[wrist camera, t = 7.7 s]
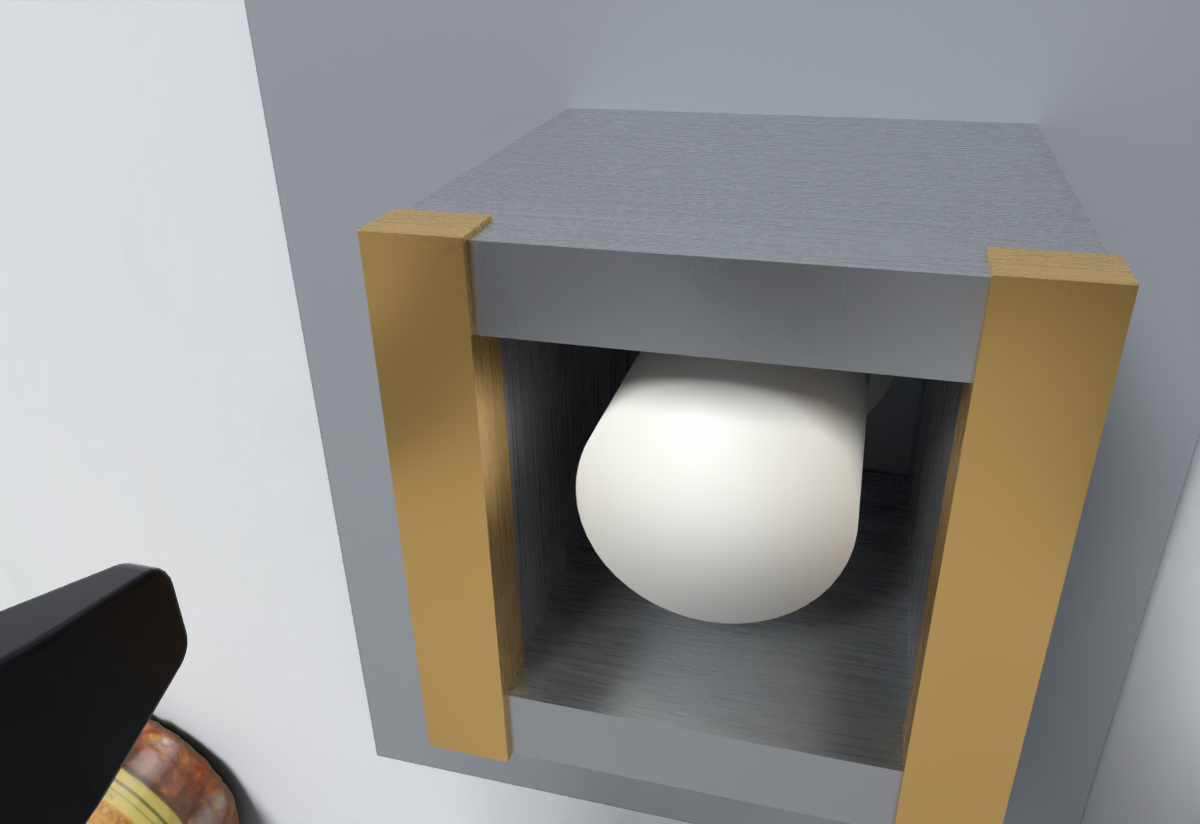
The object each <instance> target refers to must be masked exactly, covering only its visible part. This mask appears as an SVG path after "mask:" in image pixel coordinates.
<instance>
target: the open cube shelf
mask: <svg viewBox="0 0 1200 824" xmlns="http://www.w3.org/2000/svg"><path fill="white" fill-rule="evenodd" d="M358 238H359V246H360V253H361V260H362V267H363V274H364V282H365V289H366V296H367V303H368V310H369V318H370V325H371V332H372V339H373V346H374V353H375V361H376V368H377V375H378V382H379V389H380V397H381V404H382V411H383V418H384V425H385V433H386V440H387V447H388V454H389V461H390V468H391V476H392V483H393V490H394V497H395V504H396V512H397V519H398V526H399V533H400V540H401V548H402V555H403V562H404V569H405V576H406V583H407V591H408V598H409V605H410V612H411V619H412V627H413V634H414V641H415V648H416V655H417V663H418V670H419V677H420V684H421V691H422V699H423V706H424V713H425V720H426V727H427V734H428V742H429V746H433V747H438V748H443V749H447V750H452V751H457V752H462V753H466V754H471V755H476V756H480V757H485V758H490V759H495V760H499V761H504V762H508V761H509V759H510V757H511V755H512V753H514V754H519V755H524V756H529V757H533V758H538V759H543V760H548V761H553V762H557V763H562V764H567V765H572V766H577V767H581V768H586V769H591V770H596V771H601V772H605V773H610V774H615V775H620V776H625V777H629V778H634V779H639V780H644V781H649V782H653V783H658V784H663V785H668V786H673V787H677V788H682V789H687V790H692V791H697V792H701V793H706V794H711V795H716V796H721V797H725V798H730V799H735V800H740V801H744V802H749V803H754V804H759V805H764V806H768V807H773V808H778V809H783V810H788V811H792V812H797V813H802V814H807V815H812V816H816V817H821V818H826V819H831V820H836V821H840V822H845V823H850V824H1003V820H1004V816H1005V813H1006V809H1007V805H1008V801H1009V797H1010V793H1011V789H1012V785H1013V781H1014V777H1015V773H1016V769H1017V765H1018V761H1019V757H1020V753H1021V749H1022V746H1023V742H1024V738H1025V734H1026V730H1027V726H1028V722H1029V718H1030V714H1031V710H1032V706H1033V702H1034V698H1035V694H1036V690H1037V686H1038V683H1039V679H1040V675H1041V671H1042V667H1043V663H1044V659H1045V655H1046V651H1047V647H1048V643H1049V639H1050V635H1051V631H1052V627H1053V623H1054V620H1055V616H1056V612H1057V608H1058V604H1059V600H1060V596H1061V592H1062V588H1063V584H1064V580H1065V576H1066V572H1067V568H1068V564H1069V560H1070V557H1071V553H1072V549H1073V545H1074V541H1075V537H1076V533H1077V529H1078V525H1079V521H1080V517H1081V513H1082V509H1083V505H1084V501H1085V497H1086V493H1087V490H1088V486H1089V482H1090V478H1091V474H1092V470H1093V466H1094V462H1095V458H1096V454H1097V450H1098V446H1099V442H1100V438H1101V434H1102V430H1103V427H1104V423H1105V419H1106V415H1107V411H1108V407H1109V403H1110V399H1111V395H1112V391H1113V387H1114V383H1115V379H1116V375H1117V371H1118V367H1119V364H1120V360H1121V356H1122V352H1123V348H1124V344H1125V340H1126V336H1127V332H1128V328H1129V324H1130V320H1131V316H1132V312H1133V308H1134V304H1135V300H1136V297H1137V293H1138V289H1139V284H1138V283H1137V281H1136V279H1135V277H1134V276H1133V274H1132V272H1131V271H1130V269H1129V267H1128V266H1127V264H1126V262H1125V261H1124V259H1123V257H1122V256H1121V255H1111V254H1109V253H1108V251H1107V249H1106V248H1105V246H1104V244H1103V242H1102V240H1101V239H1100V237H1099V235H1098V233H1097V232H1096V230H1095V228H1094V226H1093V224H1092V223H1091V221H1090V219H1089V217H1088V215H1087V214H1086V212H1085V210H1084V208H1083V207H1082V205H1081V203H1080V201H1079V199H1078V198H1077V196H1076V194H1075V192H1074V190H1073V189H1072V187H1071V185H1070V183H1069V182H1068V180H1067V178H1066V176H1065V174H1064V173H1063V171H1062V169H1061V167H1060V165H1059V164H1058V162H1057V160H1056V158H1055V157H1054V155H1053V153H1052V151H1051V149H1050V148H1049V146H1048V144H1047V142H1046V140H1045V139H1044V137H1043V135H1042V133H1041V132H1040V130H1039V128H1038V126H1037V124H1032V123H1002V122H972V121H943V120H913V119H883V118H854V117H824V116H794V115H765V114H735V113H706V112H676V111H646V110H617V109H587V108H567V109H565V110H564V111H562V112H560V113H559V114H557V115H556V116H554V117H552V118H551V119H549V120H548V121H546V122H544V123H543V124H541V125H540V126H538V127H536V128H535V129H533V130H532V131H530V132H529V133H527V134H525V135H524V136H522V137H521V138H519V139H517V140H516V141H514V142H513V143H511V144H509V145H508V146H506V147H505V148H503V149H501V150H500V151H498V152H497V153H495V154H494V155H492V156H490V157H489V158H487V159H486V160H484V161H482V162H481V163H479V164H478V165H476V166H474V167H473V168H471V169H470V170H468V171H466V172H465V173H463V174H462V175H460V176H459V177H457V178H455V179H454V180H452V181H451V182H449V183H447V184H446V185H444V186H443V187H441V188H439V189H438V190H436V191H435V192H433V193H432V194H430V195H428V196H427V197H425V198H424V199H422V200H420V201H419V202H417V203H416V204H414V205H412V206H411V207H409V208H408V209H406V210H403V209H392V210H390V211H389V212H387V213H385V214H384V215H382V216H380V217H379V218H377V219H376V220H374V221H372V222H371V223H369V224H367V225H366V226H364V227H362V228H361V229H359V230H358ZM630 350H634V351H644V352H655V353H665V354H675V355H686V356H696V357H706V358H717V359H727V360H737V361H748V362H758V363H769V364H779V365H789V366H800V367H810V368H820V369H831V370H841V371H851V372H862V373H872V374H882V375H893V376H903V377H913V378H922V383H921V390H920V396H919V403H918V410H917V416H916V423H915V429H914V436H913V443H912V449H911V456H910V463H909V469H908V473H900V472H892V471H884V470H875V469H867V468H863V469H862V482H861V495H860V507H859V520H858V531H857V536H856V541H855V545H854V548H853V551H852V553H851V556H850V558H849V561H848V562H847V564H846V566H845V567H844V569H843V571H842V573H841V574H840V575H839V577H838V578H837V579H836V580H835V581H834V583H833V584H832V585H831V586H830V587H829V588H828V589H827V590H826V591H825V592H824V593H822V594H821V595H820V596H819V597H818V598H816V599H815V600H813V601H812V602H810V603H809V604H807V605H806V606H804V607H802V608H800V609H798V610H796V611H794V612H792V613H789V614H786V615H783V616H780V617H777V618H774V619H770V620H765V621H760V622H752V623H743V624H730V623H716V622H707V621H702V620H698V619H693V618H689V617H686V616H683V615H680V614H677V613H674V612H671V611H669V610H667V609H664V608H662V607H660V606H658V605H656V604H654V603H652V602H650V601H649V600H647V599H645V598H643V597H642V596H640V595H639V594H637V593H636V592H635V591H633V590H632V589H630V588H629V587H628V586H627V585H625V584H624V583H623V582H622V581H621V580H620V579H619V578H617V577H616V576H615V575H614V574H613V572H612V571H611V570H610V569H609V568H608V567H607V566H606V565H605V564H604V562H603V561H602V560H601V558H600V557H599V555H598V554H597V553H596V551H595V550H594V548H593V546H592V544H591V543H590V541H589V539H588V537H587V535H586V532H585V530H584V527H583V525H582V523H581V519H580V515H579V511H578V507H577V498H576V476H577V471H578V466H579V461H580V458H581V456H582V453H583V450H584V447H585V446H586V444H587V442H588V440H589V438H590V436H591V435H592V433H593V431H594V429H595V428H596V426H597V424H598V423H599V421H600V419H601V417H602V416H603V414H604V412H605V411H606V409H607V407H608V406H609V404H610V402H611V400H612V399H613V397H614V395H615V394H616V392H617V390H618V388H619V387H620V385H621V383H622V382H623V380H624V378H625V376H626V375H627V373H628V371H629V370H630Z"/></svg>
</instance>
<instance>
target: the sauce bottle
mask: <svg viewBox="0 0 1200 824" xmlns="http://www.w3.org/2000/svg"><path fill="white" fill-rule="evenodd" d="M86 824H239V814H238V812H237V808H236V803H235V800H234V797H233V794H232V792H231V791H230V790H229V788H228V786H227V785H226V784H225V783H224V782H223V781H222V778H221V776H219V775H218V774H217V773H216V772H215V771H214V770H213V769H212V767H211V765H210V764H209V762H208V761H207V760H206V759H205V758H204V757H202V756H201V755H200V754H199V753H197V752H196V751H195V750H194V749H193V748H192V747H191V746H190V745H189V744H188V743H187V742H185V741H184V740H183V739H182V738H181V737H180V736H179V735H177V734H175V733H174V732H172V731H170V730H168V729H166V728H164V727H163V726H162V725H161V724H160V723H158V722H156V721H152V720H150V719H149V721H148V723H147V724H146V726H145V728H144V729H143V731H142V733H141V735H140V736H139V738H138V740H137V741H136V743H135V745H134V747H133V748H132V750H131V752H130V753H129V755H128V757H127V759H126V760H125V762H124V764H123V765H122V767H121V769H120V771H119V772H118V774H117V776H116V777H115V779H114V781H113V783H112V784H111V786H110V787H109V789H108V791H107V792H106V794H105V796H104V797H103V799H102V800H101V802H100V804H99V805H98V807H97V808H96V810H95V811H94V813H93V814H92V816H91V817H90V819H89V820H88V822H87V823H86Z"/></svg>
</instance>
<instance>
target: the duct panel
mask: <svg viewBox="0 0 1200 824" xmlns="http://www.w3.org/2000/svg"><path fill="white" fill-rule="evenodd" d="M244 2H245V8H246V13H247V19H248V25H249V30H250V36H251V42H252V47H253V53H254V59H255V64H256V70H257V76H258V81H259V87H260V93H261V98H262V104H263V110H264V115H265V121H266V127H267V132H268V138H269V144H270V150H271V155H272V161H273V167H274V172H275V178H276V184H277V189H278V195H279V201H280V206H281V212H282V218H283V223H284V229H285V235H286V240H287V246H288V252H289V257H290V263H291V269H292V274H293V280H294V286H295V291H296V297H297V303H298V308H299V314H300V320H301V325H302V331H303V337H304V342H305V348H306V354H307V359H308V365H309V371H310V376H311V382H312V388H313V393H314V399H315V405H316V410H317V416H318V422H319V427H320V433H321V439H322V444H323V450H324V456H325V461H326V467H327V473H328V479H329V484H330V490H331V496H332V501H333V507H334V513H335V518H336V524H337V530H338V535H339V541H340V547H341V552H342V558H343V564H344V569H345V575H346V581H347V586H348V592H349V598H350V603H351V609H352V615H353V620H354V626H355V632H356V637H357V643H358V649H359V654H360V660H361V666H362V671H363V677H364V683H365V688H366V694H367V700H368V705H369V711H370V717H371V722H372V728H373V734H374V739H375V745H376V751H377V755H378V756H383V757H388V758H392V759H397V760H401V761H406V762H411V763H415V764H420V765H425V766H429V767H434V768H439V769H443V770H448V771H452V772H457V773H462V774H466V775H471V776H476V777H480V778H485V779H489V780H494V781H499V782H503V783H508V784H513V785H517V786H522V787H527V788H531V789H536V790H540V791H545V792H550V793H554V794H559V795H564V796H568V797H573V798H578V799H582V800H587V801H591V802H596V803H601V804H605V805H610V806H615V807H619V808H624V809H628V810H633V811H638V812H642V813H647V814H652V815H656V816H661V817H666V818H670V819H675V820H679V821H684V822H689V823H693V824H850V823H845V822H840V821H836V820H831V819H826V818H821V817H816V816H812V815H807V814H802V813H797V812H792V811H788V810H783V809H778V808H773V807H768V806H764V805H759V804H754V803H749V802H744V801H740V800H735V799H730V798H725V797H721V796H716V795H711V794H706V793H701V792H697V791H692V790H687V789H682V788H677V787H673V786H668V785H663V784H658V783H653V782H649V781H644V780H639V779H634V778H629V777H625V776H620V775H615V774H610V773H605V772H601V771H596V770H591V769H586V768H581V767H577V766H572V765H567V764H562V763H557V762H553V761H548V760H543V759H538V758H533V757H529V756H524V755H519V754H514V753H512V755H511V757H510V759H509V761H508V762H504V761H499V760H495V759H490V758H485V757H480V756H476V755H471V754H466V753H462V752H457V751H452V750H447V749H443V748H438V747H433V746H429V742H428V734H427V727H426V720H425V713H424V706H423V699H422V691H421V684H420V677H419V670H418V663H417V655H416V648H415V641H414V634H413V627H412V619H411V612H410V605H409V598H408V591H407V583H406V576H405V569H404V562H403V555H402V548H401V540H400V533H399V526H398V519H397V512H396V504H395V497H394V490H393V483H392V476H391V468H390V461H389V454H388V447H387V440H386V433H385V425H384V418H383V411H382V404H381V397H380V389H379V382H378V375H377V368H376V361H375V353H374V346H373V339H372V332H371V325H370V318H369V310H368V303H367V296H366V289H365V282H364V274H363V267H362V260H361V253H360V246H359V238H358V230H359V229H361V228H362V227H364V226H366V225H367V224H369V223H371V222H372V221H374V220H376V219H377V218H379V217H380V216H382V215H384V214H385V213H387V212H389V211H390V210H392V209H403V210H406V209H408V208H409V207H411V206H412V205H414V204H416V203H417V202H419V201H420V200H422V199H424V198H425V197H427V196H428V195H430V194H432V193H433V192H435V191H436V190H438V189H439V188H441V187H443V186H444V185H446V184H447V183H449V182H451V181H452V180H454V179H455V178H457V177H459V176H460V175H462V174H463V173H465V172H466V171H468V170H470V169H471V168H473V167H474V166H476V165H478V164H479V163H481V162H482V161H484V160H486V159H487V158H489V157H490V156H492V155H494V154H495V153H497V152H498V151H500V150H501V149H503V148H505V147H506V146H508V145H509V144H511V143H513V142H514V141H516V140H517V139H519V138H521V137H522V136H524V135H525V134H527V133H529V132H530V131H532V130H533V129H535V128H536V127H538V126H540V125H541V124H543V123H544V122H546V121H548V120H549V119H551V118H552V117H554V116H556V115H557V114H559V113H560V112H562V111H564V110H565V109H567V108H587V109H617V110H646V111H676V112H706V113H735V114H765V115H794V116H824V117H854V118H883V119H913V120H943V121H972V122H1002V123H1032V124H1037V126H1038V128H1039V130H1040V132H1041V133H1042V135H1043V137H1044V139H1045V140H1046V142H1047V144H1048V146H1049V148H1050V149H1051V151H1052V153H1053V155H1054V157H1055V158H1056V160H1057V162H1058V164H1059V165H1060V167H1061V169H1062V171H1063V173H1064V174H1065V176H1066V178H1067V180H1068V182H1069V183H1070V185H1071V187H1072V189H1073V190H1074V192H1075V194H1076V196H1077V198H1078V199H1079V201H1080V203H1081V205H1082V207H1083V208H1084V210H1085V212H1086V214H1087V215H1088V217H1089V219H1090V221H1091V223H1092V224H1093V226H1094V228H1095V230H1096V232H1097V233H1098V235H1099V237H1100V239H1101V240H1102V242H1103V244H1104V246H1105V248H1106V249H1107V251H1108V253H1109V254H1111V255H1121V256H1122V257H1123V259H1124V261H1125V262H1126V264H1127V266H1128V267H1129V269H1130V271H1131V272H1132V274H1133V276H1134V277H1135V279H1136V281H1137V283H1138V284H1139V289H1138V293H1137V297H1136V300H1135V304H1134V308H1133V312H1132V316H1131V320H1130V324H1129V328H1128V332H1127V336H1126V340H1125V344H1124V348H1123V352H1122V356H1121V360H1120V364H1119V367H1118V371H1117V375H1116V379H1115V383H1114V387H1113V391H1112V395H1111V399H1110V403H1109V407H1108V411H1107V415H1106V419H1105V423H1104V427H1103V430H1102V434H1101V438H1100V442H1099V446H1098V450H1097V454H1096V458H1095V462H1094V466H1093V470H1092V474H1091V478H1090V482H1089V486H1088V490H1087V493H1086V497H1085V501H1084V505H1083V509H1082V513H1081V517H1080V521H1079V525H1078V529H1077V533H1076V537H1075V541H1074V545H1073V549H1072V553H1071V557H1070V560H1069V564H1068V568H1067V572H1066V576H1065V580H1064V584H1063V588H1062V592H1061V596H1060V600H1059V604H1058V608H1057V612H1056V616H1055V620H1054V623H1053V627H1052V631H1051V635H1050V639H1049V643H1048V647H1047V651H1046V655H1045V659H1044V663H1043V667H1042V671H1041V675H1040V679H1039V683H1038V686H1037V690H1036V694H1035V698H1034V702H1033V706H1032V710H1031V714H1030V718H1029V722H1028V726H1027V730H1026V734H1025V738H1024V742H1023V746H1022V749H1021V753H1020V757H1019V761H1018V765H1017V769H1016V773H1015V777H1014V781H1013V785H1012V789H1011V793H1010V797H1009V801H1008V805H1007V809H1006V813H1005V816H1004V820H1003V824H1080V823H1081V819H1082V816H1083V813H1084V809H1085V806H1086V803H1087V800H1088V796H1089V793H1090V790H1091V787H1092V783H1093V780H1094V777H1095V773H1096V770H1097V767H1098V764H1099V760H1100V757H1101V754H1102V751H1103V747H1104V744H1105V741H1106V737H1107V734H1108V731H1109V728H1110V724H1111V721H1112V718H1113V715H1114V711H1115V708H1116V705H1117V701H1118V698H1119V695H1120V692H1121V688H1122V685H1123V682H1124V679H1125V675H1126V672H1127V669H1128V665H1129V662H1130V659H1131V656H1132V652H1133V649H1134V646H1135V643H1136V639H1137V636H1138V633H1139V629H1140V626H1141V623H1142V620H1143V616H1144V613H1145V610H1146V607H1147V603H1148V600H1149V597H1150V593H1151V590H1152V587H1153V584H1154V580H1155V577H1156V574H1157V571H1158V567H1159V564H1160V561H1161V557H1162V554H1163V551H1164V548H1165V544H1166V541H1167V538H1168V535H1169V531H1170V528H1171V525H1172V521H1173V518H1174V515H1175V512H1176V508H1177V505H1178V502H1179V499H1180V495H1181V492H1182V489H1183V485H1184V482H1185V479H1186V476H1187V472H1188V469H1189V466H1190V463H1191V459H1192V456H1193V453H1194V449H1195V446H1196V443H1197V440H1198V436H1199V433H1200V0H244ZM921 383H922V378H913V377H903V376H893V375H882V374H872V373H862V372H851V371H841V370H831V369H820V368H810V367H800V366H789V365H779V364H769V363H758V362H748V361H737V360H727V359H717V358H706V357H696V356H686V355H675V354H665V353H655V352H644V351H634V350H630V370H629V371H628V373H627V375H626V376H625V378H624V380H623V382H622V383H621V385H620V387H619V388H618V390H617V392H616V394H615V395H614V397H613V399H612V400H611V402H610V404H609V406H608V407H607V409H606V411H605V412H604V414H603V416H602V417H601V419H600V421H599V423H598V424H597V426H596V428H595V429H594V431H593V433H592V435H591V436H590V438H589V440H588V442H587V444H586V446H585V447H584V450H583V453H582V456H581V458H580V461H579V466H578V471H577V476H576V498H577V507H578V511H579V515H580V519H581V523H582V525H583V527H584V530H585V532H586V535H587V537H588V539H589V541H590V543H591V544H592V546H593V548H594V550H595V551H596V553H597V554H598V555H599V557H600V558H601V560H602V561H603V562H604V564H605V565H606V566H607V567H608V568H609V569H610V570H611V571H612V572H613V574H614V575H615V576H616V577H617V578H619V579H620V580H621V581H622V582H623V583H624V584H625V585H627V586H628V587H629V588H630V589H632V590H633V591H635V592H636V593H637V594H639V595H640V596H642V597H643V598H645V599H647V600H649V601H650V602H652V603H654V604H656V605H658V606H660V607H662V608H664V609H667V610H669V611H671V612H674V613H677V614H680V615H683V616H686V617H689V618H693V619H698V620H702V621H707V622H716V623H730V624H743V623H752V622H760V621H765V620H770V619H774V618H777V617H780V616H783V615H786V614H789V613H792V612H794V611H796V610H798V609H800V608H802V607H804V606H806V605H807V604H809V603H810V602H812V601H813V600H815V599H816V598H818V597H819V596H820V595H821V594H822V593H824V592H825V591H826V590H827V589H828V588H829V587H830V586H831V585H832V584H833V583H834V581H835V580H836V579H837V578H838V577H839V575H840V574H841V573H842V571H843V569H844V567H845V566H846V564H847V562H848V561H849V558H850V556H851V553H852V551H853V548H854V545H855V541H856V536H857V531H858V520H859V507H860V495H861V482H862V469H863V468H867V469H875V470H884V471H892V472H900V473H908V469H909V463H910V456H911V449H912V443H913V436H914V429H915V423H916V416H917V410H918V403H919V396H920V390H921Z"/></svg>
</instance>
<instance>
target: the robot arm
mask: <svg viewBox="0 0 1200 824" xmlns="http://www.w3.org/2000/svg"><path fill="white" fill-rule="evenodd" d="M186 649H187V633H186V629H185V626H184V622H183V618H182V615H181V611H180V608H179V604H178V601H177V597H176V593H175V590H174V586H173V583H172V580H171V578H170V577H169V575H168V574H167V573H166V572H165V571H163V570H161V569H159V568H155V567H149V566H143V565H137V564H130V563H125V564H119V565H116V566H113V567H111V568H108V569H106V570H103V571H101V572H98V573H96V574H93V575H91V576H88V577H85V578H83V579H80V580H78V581H75V582H73V583H70V584H68V585H65V586H63V587H60V588H58V589H55V590H53V591H50V592H48V593H45V594H43V595H40V596H38V597H35V598H33V599H30V600H28V601H25V602H23V603H20V604H18V605H15V606H13V607H10V608H8V609H5V610H3V611H0V824H86V823H87V822H88V820H89V819H90V817H91V816H92V814H93V813H94V811H95V810H96V808H97V807H98V805H99V804H100V802H101V800H102V799H103V797H104V796H105V794H106V792H107V791H108V789H109V787H110V786H111V784H112V783H113V781H114V779H115V777H116V776H117V774H118V772H119V771H120V769H121V767H122V765H123V764H124V762H125V760H126V759H127V757H128V755H129V753H130V752H131V750H132V748H133V747H134V745H135V743H136V741H137V740H138V738H139V736H140V735H141V733H142V731H143V729H144V728H145V726H146V724H147V723H148V721H149V719H150V717H151V716H152V714H153V712H154V710H155V709H156V707H157V705H158V704H159V702H160V700H161V698H162V697H163V695H164V693H165V692H166V690H167V688H168V686H169V685H170V683H171V681H172V680H173V678H174V676H175V674H176V673H177V671H178V669H179V668H180V666H181V664H182V662H183V660H184V657H185V654H186Z"/></svg>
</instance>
